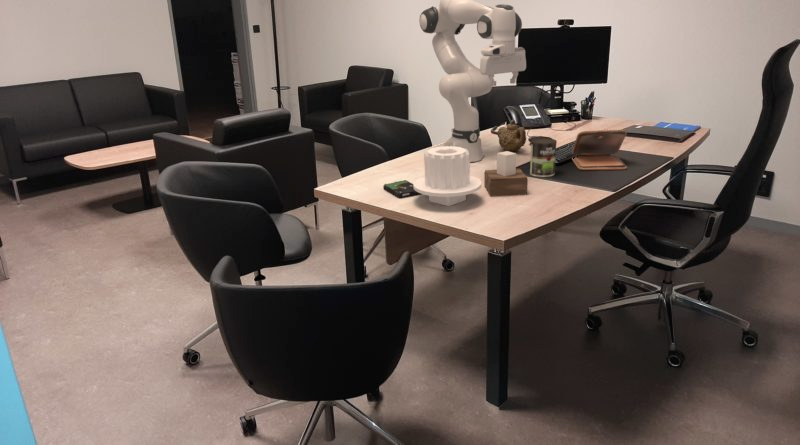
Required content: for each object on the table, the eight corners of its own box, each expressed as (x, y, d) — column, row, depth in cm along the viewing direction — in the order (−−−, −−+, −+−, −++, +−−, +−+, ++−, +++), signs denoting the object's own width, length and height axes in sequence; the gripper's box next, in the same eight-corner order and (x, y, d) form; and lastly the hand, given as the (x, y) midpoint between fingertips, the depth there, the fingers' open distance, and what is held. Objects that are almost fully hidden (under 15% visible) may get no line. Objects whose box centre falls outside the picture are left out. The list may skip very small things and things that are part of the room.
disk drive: (423, 195, 242) (405, 186, 255) (423, 188, 241) (405, 179, 254) (399, 200, 238) (382, 190, 250) (399, 193, 237) (382, 183, 249)
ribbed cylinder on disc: (400, 202, 234) (397, 152, 227) (444, 186, 250) (443, 139, 244) (450, 216, 217) (449, 163, 210) (495, 198, 233) (495, 148, 227)
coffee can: (559, 175, 258) (561, 141, 253) (536, 178, 255) (538, 144, 250) (547, 169, 267) (549, 136, 262) (525, 172, 265) (526, 139, 260)
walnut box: (484, 187, 248) (484, 170, 246) (519, 185, 248) (520, 168, 246) (490, 197, 236) (490, 179, 234) (527, 195, 236) (527, 177, 234)
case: (617, 158, 280) (619, 122, 275) (628, 170, 261) (631, 132, 255) (570, 159, 283) (572, 123, 277) (578, 171, 263) (580, 134, 258)
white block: (496, 173, 241) (497, 153, 238) (507, 171, 243) (507, 151, 240) (505, 176, 236) (505, 155, 234) (515, 174, 239) (516, 153, 236)
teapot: (489, 148, 305) (489, 117, 300) (509, 145, 310) (509, 115, 305) (514, 157, 287) (515, 125, 282) (535, 154, 292) (536, 122, 286)
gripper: (520, 46, 252) (519, 81, 257) (477, 50, 244) (477, 86, 248) (530, 47, 247) (529, 82, 252) (487, 51, 238) (486, 88, 243)
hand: (503, 84), depth 250 cm, fingers open, 8 cm apart
